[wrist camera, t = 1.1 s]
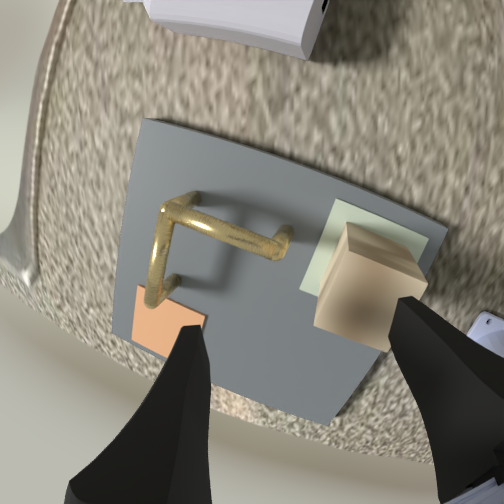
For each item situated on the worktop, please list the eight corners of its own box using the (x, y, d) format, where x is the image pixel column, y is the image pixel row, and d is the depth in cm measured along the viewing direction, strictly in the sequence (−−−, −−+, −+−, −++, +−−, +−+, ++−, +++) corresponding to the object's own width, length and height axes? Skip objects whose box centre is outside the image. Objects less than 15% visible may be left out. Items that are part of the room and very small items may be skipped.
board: (442, 223, 17) (449, 229, 16) (328, 415, 25) (327, 427, 23) (152, 118, 20) (141, 117, 19) (119, 326, 27) (110, 334, 26)
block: (407, 247, 17) (428, 283, 13) (378, 304, 19) (387, 352, 14) (345, 221, 18) (348, 250, 13) (320, 281, 19) (313, 325, 15)
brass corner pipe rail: (296, 228, 19) (286, 249, 15) (259, 322, 22) (244, 356, 18) (188, 188, 20) (158, 200, 16) (167, 282, 22) (139, 307, 19)
